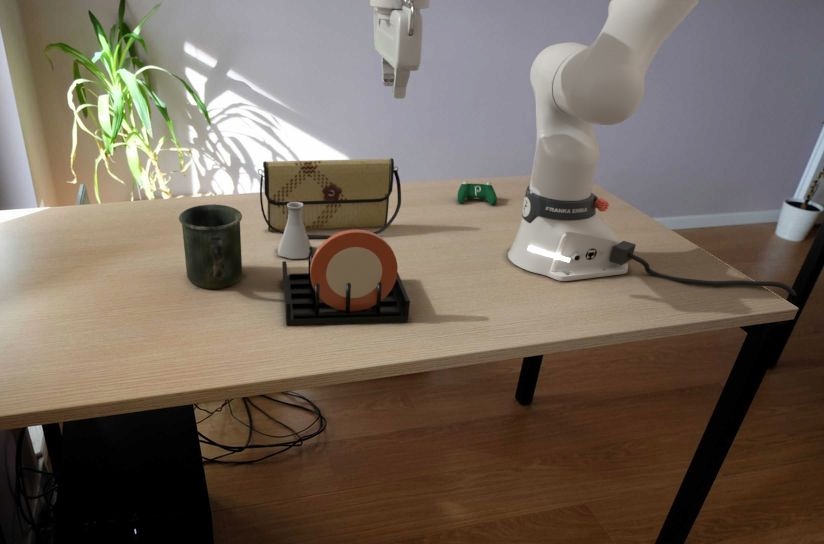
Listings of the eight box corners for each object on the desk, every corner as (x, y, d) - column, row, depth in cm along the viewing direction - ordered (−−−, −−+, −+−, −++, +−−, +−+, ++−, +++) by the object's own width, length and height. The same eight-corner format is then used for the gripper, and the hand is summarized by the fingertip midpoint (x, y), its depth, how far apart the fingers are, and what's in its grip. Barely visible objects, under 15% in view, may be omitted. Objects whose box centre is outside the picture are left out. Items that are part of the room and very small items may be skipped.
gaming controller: (494, 210, 159) (494, 187, 161) (497, 203, 156) (497, 179, 157) (455, 208, 160) (456, 185, 161) (458, 201, 156) (458, 178, 158)
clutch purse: (261, 241, 136) (259, 169, 128) (259, 228, 142) (256, 159, 134) (402, 235, 140) (408, 166, 132) (394, 223, 146) (399, 155, 138)
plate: (385, 312, 111) (405, 235, 104) (387, 316, 110) (406, 238, 103) (303, 302, 109) (318, 223, 102) (304, 306, 108) (318, 226, 101)
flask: (309, 262, 128) (309, 212, 123) (272, 258, 129) (271, 209, 124) (316, 247, 134) (317, 199, 129) (282, 243, 135) (281, 196, 130)
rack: (390, 278, 122) (393, 243, 119) (408, 322, 109) (411, 283, 105) (282, 281, 121) (282, 245, 117) (286, 325, 107) (285, 286, 103)
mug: (239, 261, 127) (236, 202, 121) (253, 296, 115) (250, 232, 109) (182, 267, 125) (176, 206, 118) (190, 303, 113) (183, 238, 106)
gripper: (437, 0, 90) (426, 106, 97) (407, -11, 107) (400, 79, 114) (391, -1, 89) (384, 105, 96) (369, -12, 106) (364, 79, 114)
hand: (393, 91), depth 105 cm, fingers open, 8 cm apart
